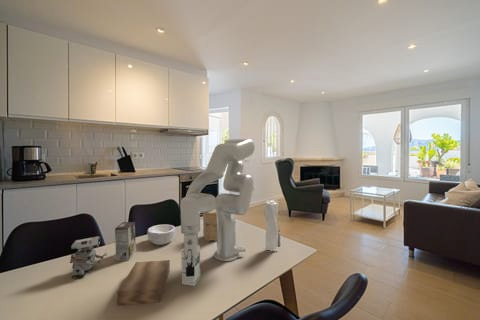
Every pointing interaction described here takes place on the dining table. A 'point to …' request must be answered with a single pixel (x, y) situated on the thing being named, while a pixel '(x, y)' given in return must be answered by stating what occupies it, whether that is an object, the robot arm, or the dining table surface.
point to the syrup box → (194, 279)
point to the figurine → (84, 255)
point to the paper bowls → (161, 234)
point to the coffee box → (125, 241)
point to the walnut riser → (144, 283)
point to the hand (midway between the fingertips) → (191, 270)
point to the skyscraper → (272, 225)
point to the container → (210, 225)
